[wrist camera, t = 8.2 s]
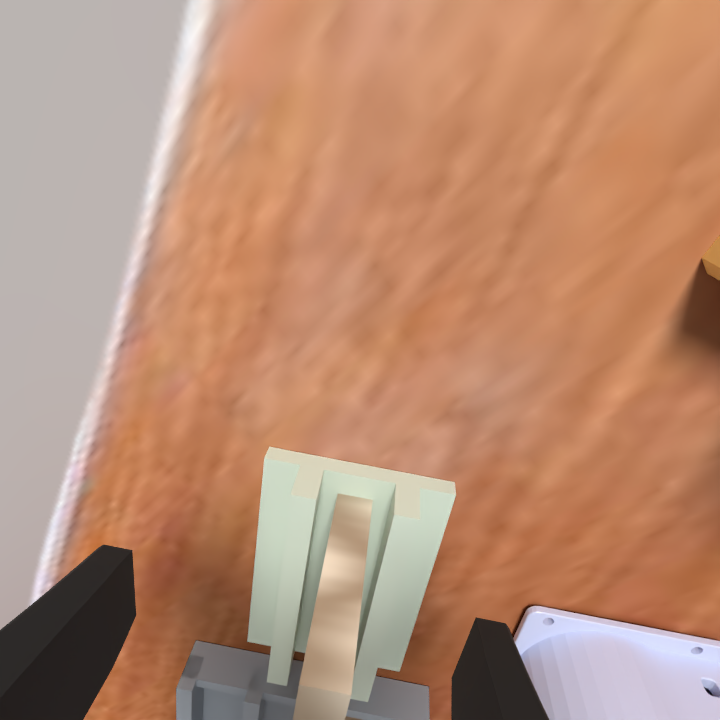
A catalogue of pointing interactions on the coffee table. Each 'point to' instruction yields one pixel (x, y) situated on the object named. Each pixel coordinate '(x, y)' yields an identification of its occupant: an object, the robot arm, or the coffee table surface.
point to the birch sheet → (336, 615)
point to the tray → (274, 690)
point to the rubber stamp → (713, 259)
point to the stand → (308, 547)
